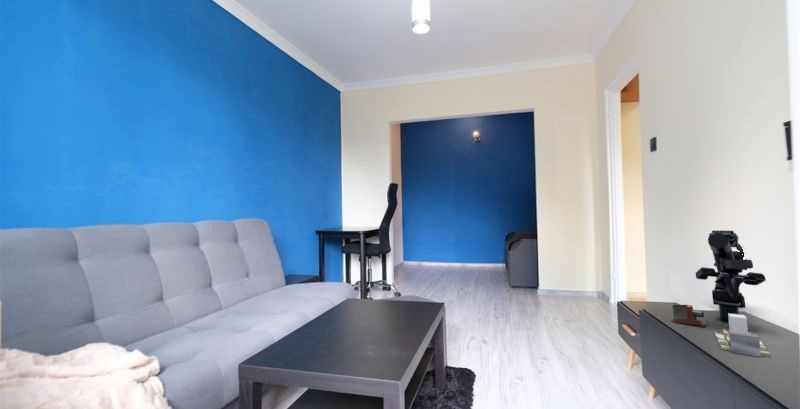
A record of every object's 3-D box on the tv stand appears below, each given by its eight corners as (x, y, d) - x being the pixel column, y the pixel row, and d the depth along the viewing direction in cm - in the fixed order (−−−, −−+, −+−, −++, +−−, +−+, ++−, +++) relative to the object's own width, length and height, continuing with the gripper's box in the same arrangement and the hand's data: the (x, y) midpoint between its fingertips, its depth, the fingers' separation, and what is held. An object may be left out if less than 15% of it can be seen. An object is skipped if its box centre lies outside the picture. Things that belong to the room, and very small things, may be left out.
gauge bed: (714, 334, 122) (713, 317, 122) (758, 340, 115) (756, 322, 115) (722, 350, 108) (720, 332, 108) (771, 358, 102) (770, 338, 102)
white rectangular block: (715, 334, 119) (713, 311, 119) (746, 338, 114) (744, 315, 114) (716, 337, 116) (715, 314, 116) (748, 342, 111) (746, 318, 111)
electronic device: (705, 328, 128) (703, 308, 128) (673, 323, 135) (671, 304, 135) (706, 325, 131) (704, 306, 132) (674, 320, 138) (673, 302, 138)
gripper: (704, 247, 128) (713, 286, 120) (768, 253, 121) (782, 294, 113) (691, 259, 136) (699, 296, 129) (750, 265, 130) (762, 304, 122)
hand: (734, 297), depth 123 cm, fingers closed
